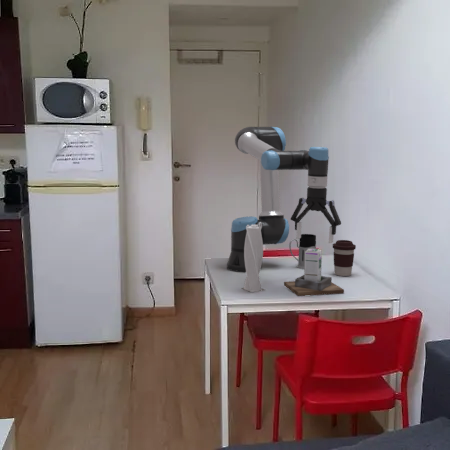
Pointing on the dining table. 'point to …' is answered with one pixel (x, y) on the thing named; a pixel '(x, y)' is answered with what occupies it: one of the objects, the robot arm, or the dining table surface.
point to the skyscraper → (253, 258)
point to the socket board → (313, 292)
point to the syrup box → (313, 265)
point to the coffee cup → (343, 257)
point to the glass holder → (304, 247)
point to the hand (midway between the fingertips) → (314, 240)
